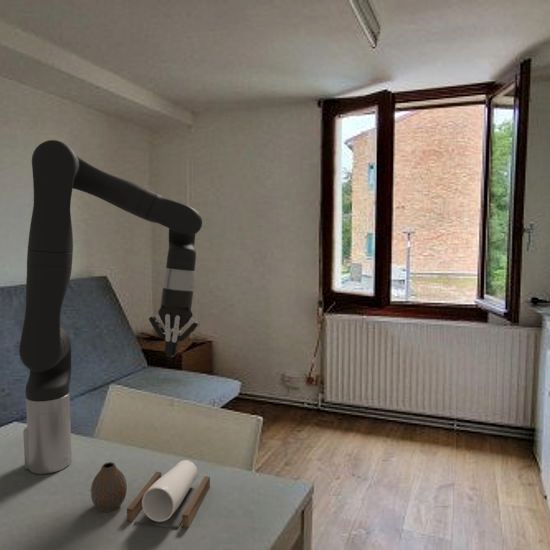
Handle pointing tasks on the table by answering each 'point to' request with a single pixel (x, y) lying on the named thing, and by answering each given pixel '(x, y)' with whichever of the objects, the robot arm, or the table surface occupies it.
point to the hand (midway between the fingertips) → (170, 356)
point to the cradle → (181, 515)
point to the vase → (108, 488)
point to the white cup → (169, 491)
